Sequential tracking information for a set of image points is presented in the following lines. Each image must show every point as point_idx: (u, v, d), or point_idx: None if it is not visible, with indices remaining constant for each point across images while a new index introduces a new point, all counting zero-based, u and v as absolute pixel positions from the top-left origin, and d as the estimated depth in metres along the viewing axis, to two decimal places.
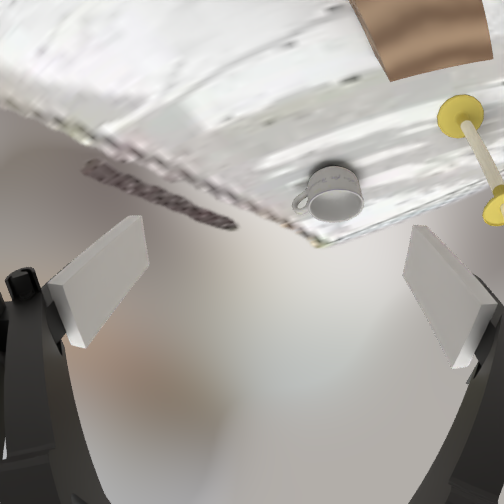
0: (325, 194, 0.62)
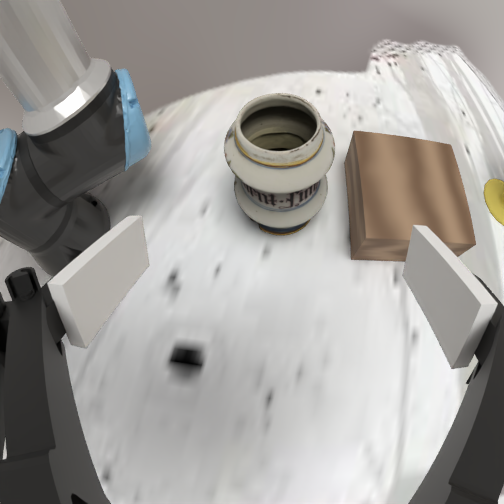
0: None
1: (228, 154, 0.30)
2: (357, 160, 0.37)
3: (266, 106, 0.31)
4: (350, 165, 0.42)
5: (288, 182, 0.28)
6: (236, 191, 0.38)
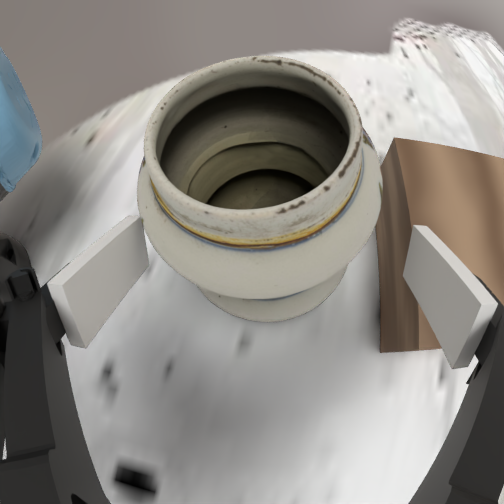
0: None
1: (139, 203, 0.13)
2: (403, 193, 0.20)
3: (229, 88, 0.14)
4: (385, 195, 0.24)
5: (274, 283, 0.11)
6: None
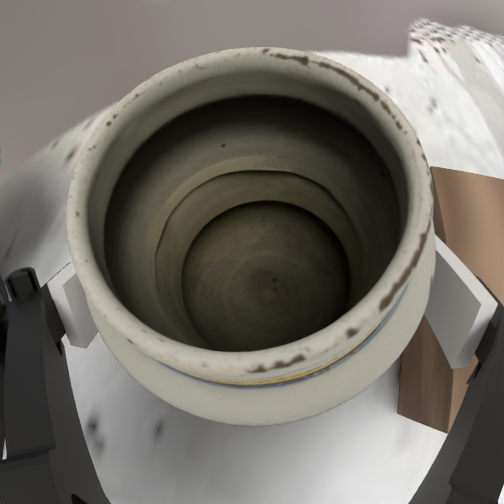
0: None
1: None
2: (442, 240, 0.15)
3: (226, 93, 0.09)
4: None
5: (244, 420, 0.07)
6: None
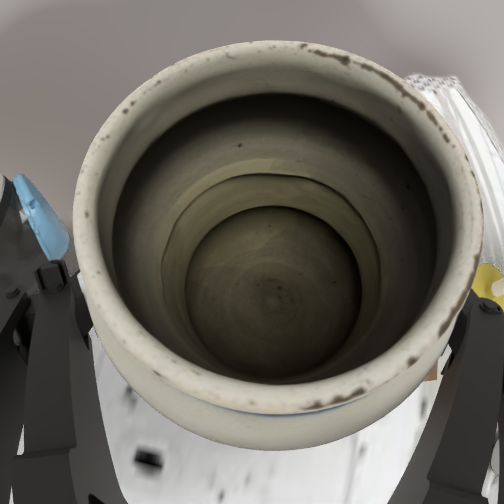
0: None
1: None
2: None
3: (253, 89, 0.08)
4: None
5: (270, 446, 0.06)
6: None
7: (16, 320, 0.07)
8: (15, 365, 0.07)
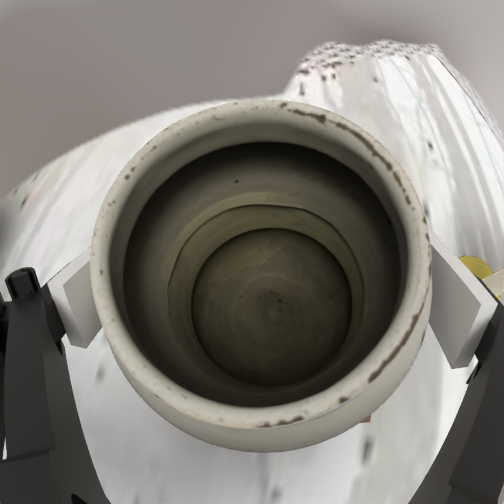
0: None
1: None
2: None
3: (242, 140, 0.10)
4: None
5: (249, 449, 0.08)
6: None
7: None
8: None
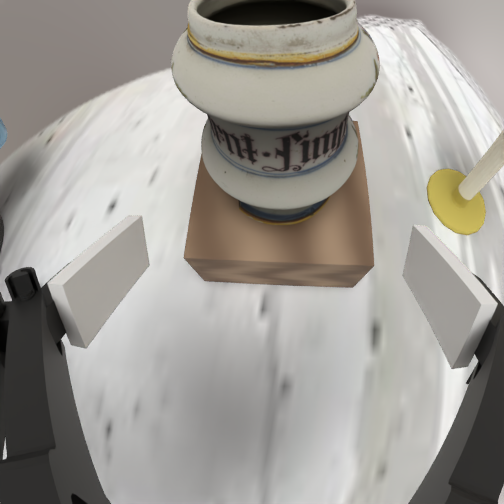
0: None
1: (173, 54, 0.14)
2: None
3: None
4: None
5: (271, 97, 0.12)
6: (202, 139, 0.22)
7: None
8: None
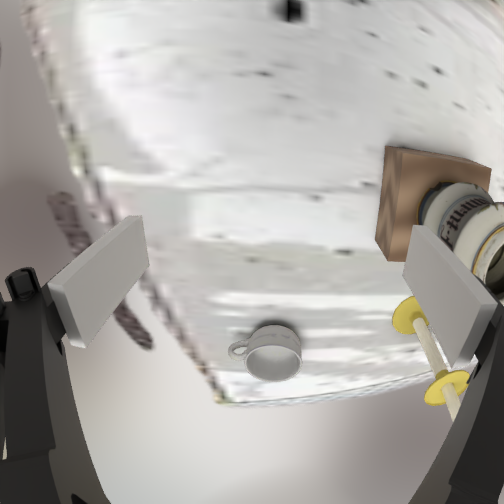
0: (260, 352, 0.61)
1: (503, 209, 0.23)
2: (466, 163, 0.35)
3: None
4: (463, 160, 0.38)
5: (461, 257, 0.25)
6: (468, 186, 0.30)
7: None
8: None
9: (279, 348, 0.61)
